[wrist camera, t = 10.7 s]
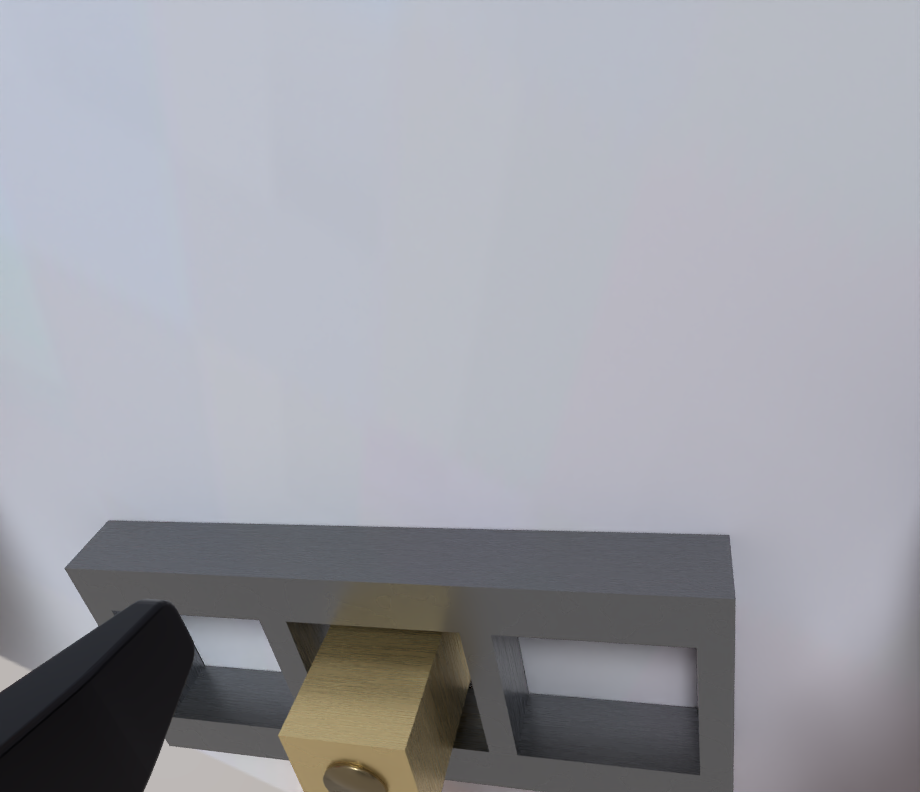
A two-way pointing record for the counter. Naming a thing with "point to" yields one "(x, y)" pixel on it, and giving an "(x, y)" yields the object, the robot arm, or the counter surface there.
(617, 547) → the tray
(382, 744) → the brass block
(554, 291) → the counter surface
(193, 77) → the counter surface
